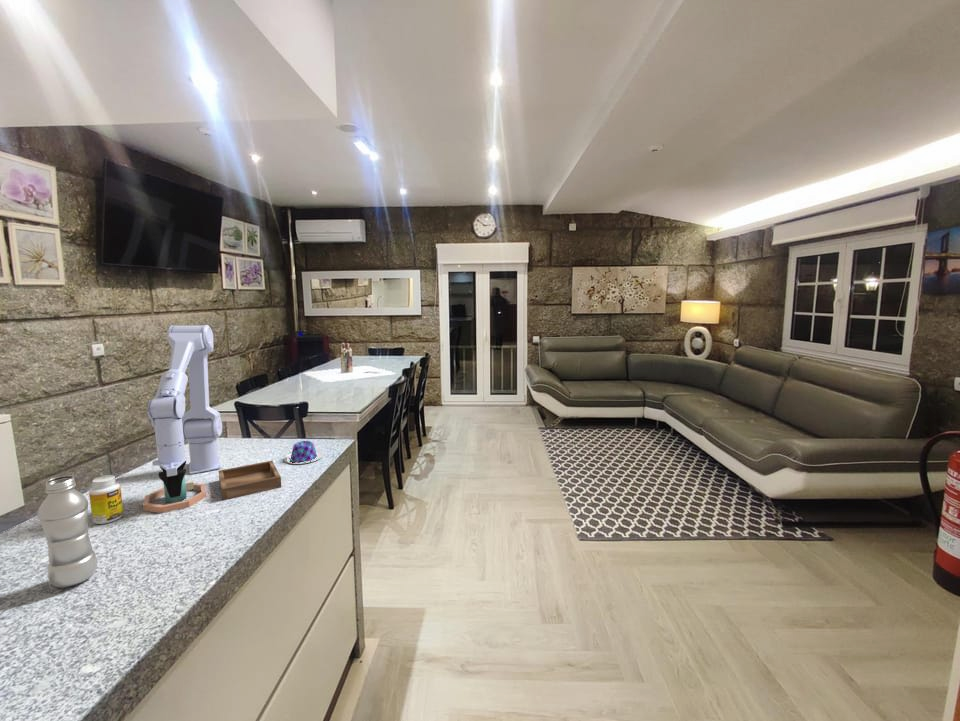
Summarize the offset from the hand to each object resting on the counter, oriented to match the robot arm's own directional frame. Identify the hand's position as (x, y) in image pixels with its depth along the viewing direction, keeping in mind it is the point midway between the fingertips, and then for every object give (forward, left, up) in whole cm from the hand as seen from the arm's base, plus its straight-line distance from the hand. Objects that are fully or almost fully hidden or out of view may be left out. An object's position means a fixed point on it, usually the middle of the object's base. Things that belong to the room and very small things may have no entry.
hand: (175, 492), depth 109 cm
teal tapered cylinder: (0, 0, -2) cm, 2 cm away
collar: (0, 0, -2) cm, 2 cm away
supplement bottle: (+3, -13, -2) cm, 14 cm away
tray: (0, +17, -2) cm, 17 cm away
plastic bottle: (+28, -15, -2) cm, 32 cm away
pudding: (-12, +34, -2) cm, 36 cm away
